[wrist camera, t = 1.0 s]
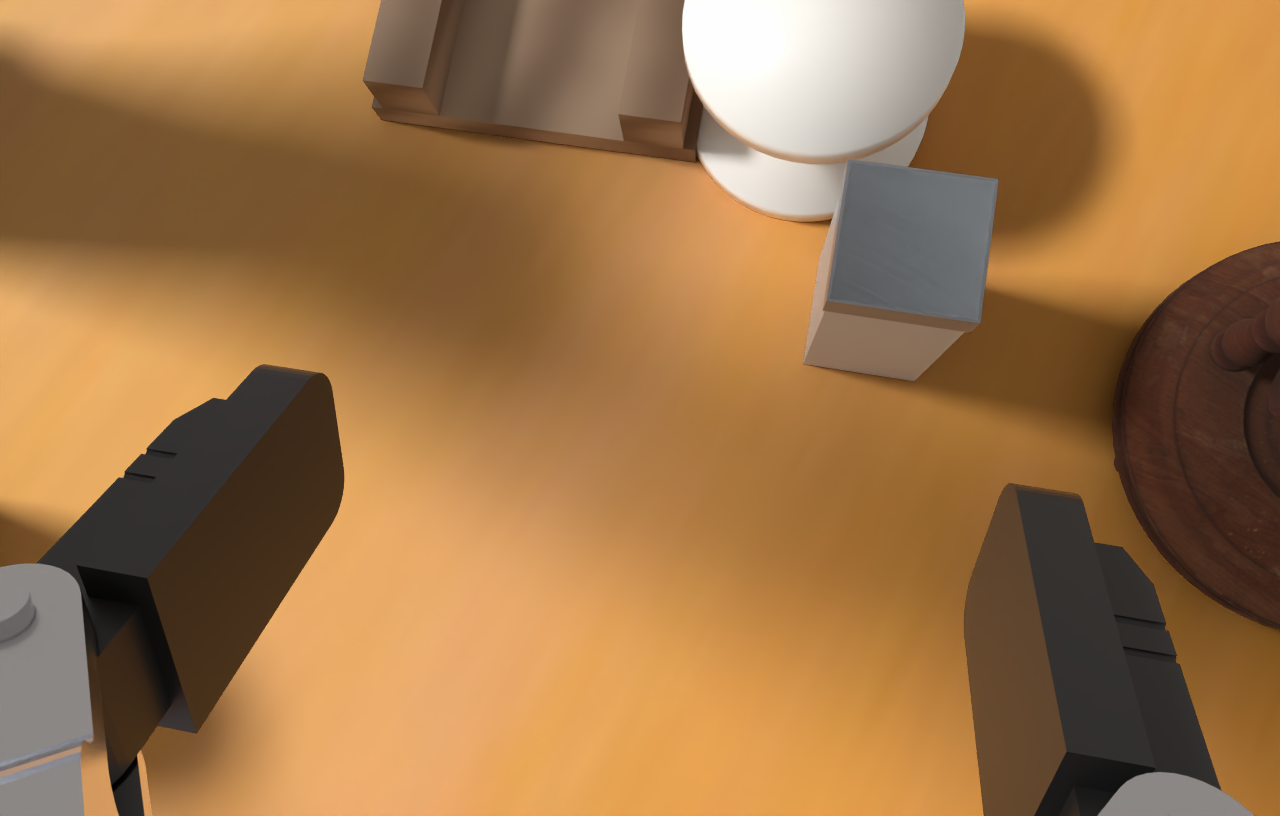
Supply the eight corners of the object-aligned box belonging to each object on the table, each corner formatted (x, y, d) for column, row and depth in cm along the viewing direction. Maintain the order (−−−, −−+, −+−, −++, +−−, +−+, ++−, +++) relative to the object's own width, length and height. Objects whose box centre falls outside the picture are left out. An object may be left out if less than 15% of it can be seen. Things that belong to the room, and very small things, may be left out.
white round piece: (643, 80, 44) (629, -12, 37) (837, -41, 44) (860, -155, 37) (771, 266, 42) (781, 205, 35) (972, 139, 42) (1022, 54, 35)
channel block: (381, 119, 44) (350, 78, 41) (427, -86, 46) (402, -143, 42) (695, 162, 43) (693, 123, 39) (733, -51, 44) (734, -107, 41)
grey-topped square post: (916, 383, 41) (980, 323, 31) (800, 366, 41) (826, 300, 31) (931, 273, 41) (998, 178, 31) (817, 256, 42) (847, 158, 32)
